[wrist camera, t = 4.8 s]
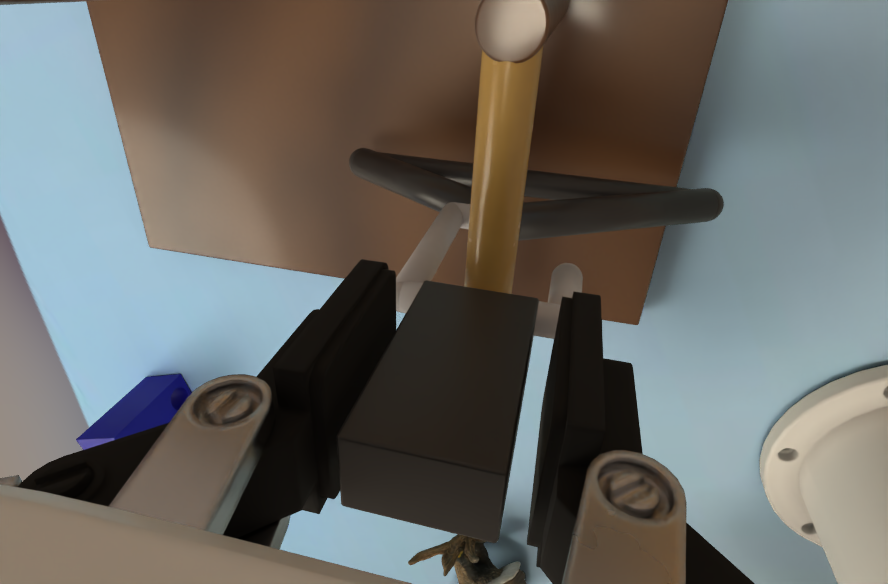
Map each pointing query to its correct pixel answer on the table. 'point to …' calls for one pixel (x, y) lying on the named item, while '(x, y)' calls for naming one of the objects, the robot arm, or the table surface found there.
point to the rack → (401, 125)
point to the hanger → (471, 344)
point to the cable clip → (139, 410)
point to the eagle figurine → (472, 562)
